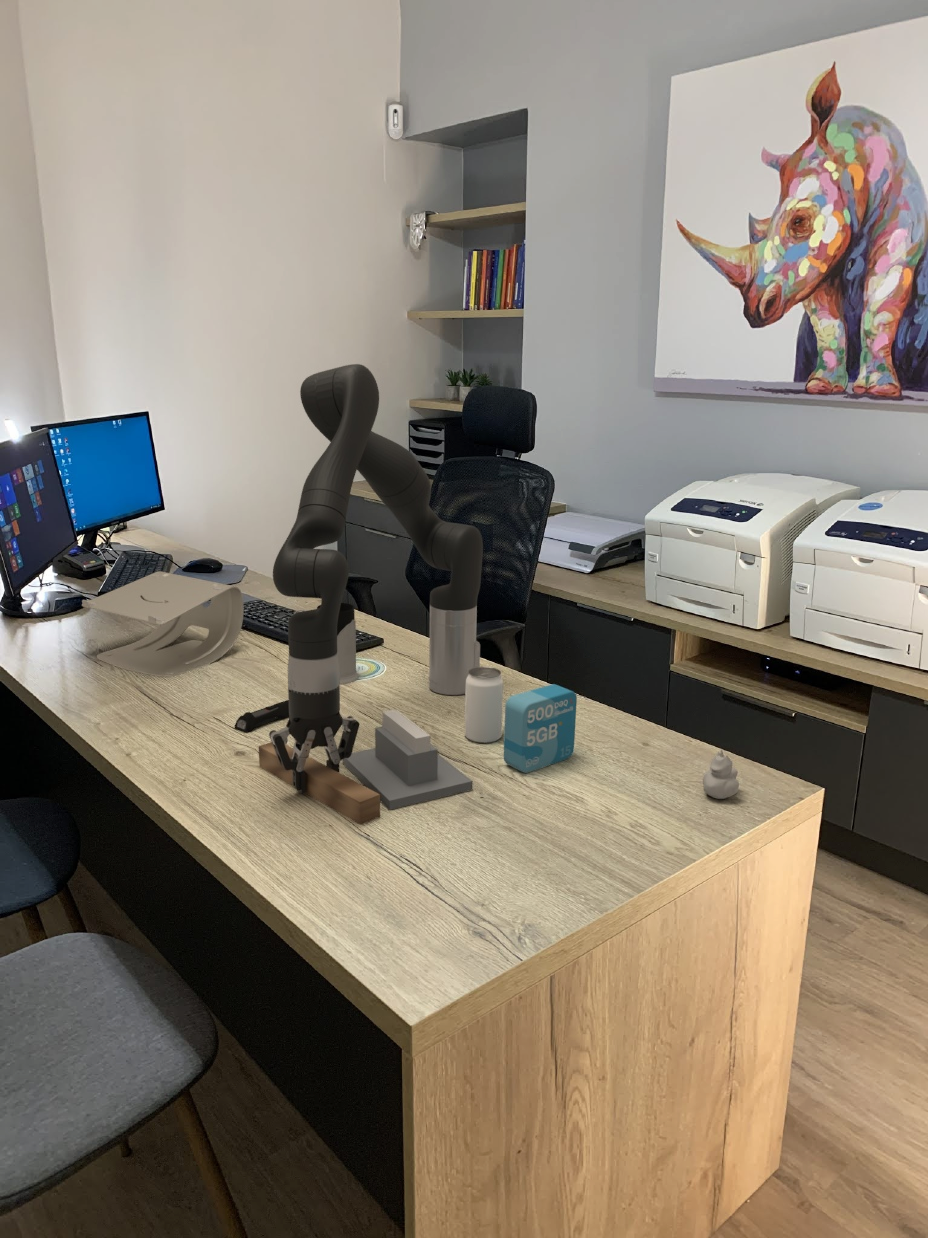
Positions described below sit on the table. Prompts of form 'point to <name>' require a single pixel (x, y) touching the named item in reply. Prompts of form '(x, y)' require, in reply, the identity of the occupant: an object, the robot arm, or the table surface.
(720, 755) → the rubber duck
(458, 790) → the stand
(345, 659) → the grey black mug
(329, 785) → the walnut bar
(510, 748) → the data package
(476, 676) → the can
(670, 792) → the table surface
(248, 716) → the electric trimmer
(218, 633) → the portable electronic device stand
